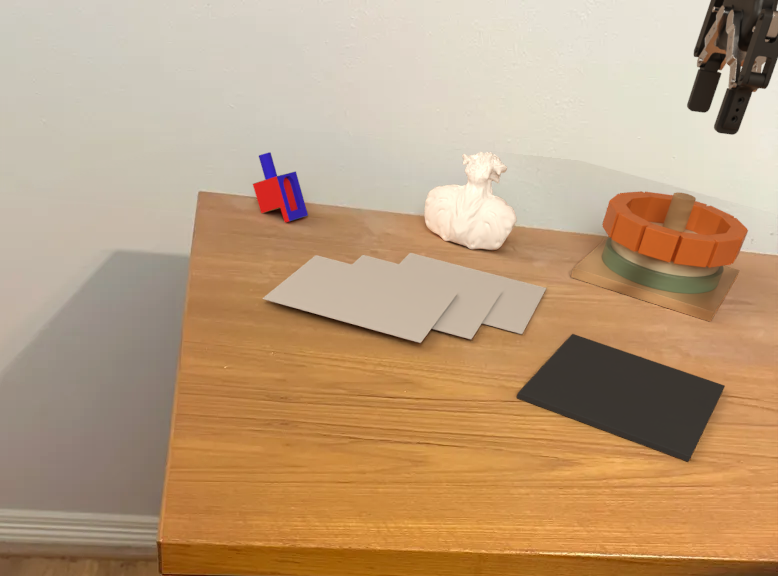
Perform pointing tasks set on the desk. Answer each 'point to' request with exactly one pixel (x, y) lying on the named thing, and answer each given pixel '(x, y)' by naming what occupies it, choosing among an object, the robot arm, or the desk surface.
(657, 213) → the orange ring
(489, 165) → the bust
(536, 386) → the mat
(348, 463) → the desk surface
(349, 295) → the paper stack
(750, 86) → the robot arm
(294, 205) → the toy building block
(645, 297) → the ring stack
